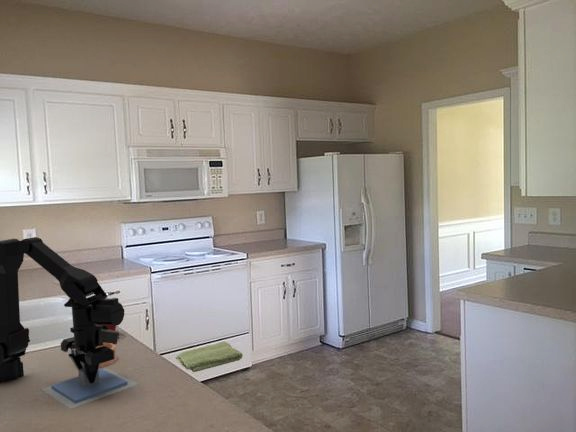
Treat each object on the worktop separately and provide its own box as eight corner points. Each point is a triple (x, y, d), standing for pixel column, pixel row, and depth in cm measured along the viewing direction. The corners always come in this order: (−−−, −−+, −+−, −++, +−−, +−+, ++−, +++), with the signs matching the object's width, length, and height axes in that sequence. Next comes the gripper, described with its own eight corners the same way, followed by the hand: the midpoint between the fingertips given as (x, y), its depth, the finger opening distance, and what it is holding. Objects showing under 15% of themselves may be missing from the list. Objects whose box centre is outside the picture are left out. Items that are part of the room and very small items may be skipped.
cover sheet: (75, 403, 125) (73, 384, 124) (51, 388, 134) (50, 370, 134) (127, 384, 135) (126, 366, 134) (102, 371, 144) (100, 355, 144)
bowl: (88, 374, 145) (86, 357, 144) (71, 365, 152) (69, 349, 152) (123, 363, 153) (122, 346, 152) (105, 355, 160) (104, 339, 160)
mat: (70, 412, 122) (70, 408, 122) (40, 392, 134) (40, 388, 134) (138, 387, 135) (138, 384, 135) (105, 371, 147) (105, 367, 147)
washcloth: (173, 361, 154) (172, 350, 154) (227, 349, 163) (227, 339, 163) (188, 375, 143) (187, 364, 143) (245, 361, 152) (244, 351, 151)
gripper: (131, 322, 132) (135, 380, 134) (97, 310, 145) (101, 363, 146) (90, 333, 124) (94, 395, 126) (57, 319, 137) (62, 376, 138)
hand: (89, 381), depth 134 cm, fingers closed on cover sheet, 3 cm apart
